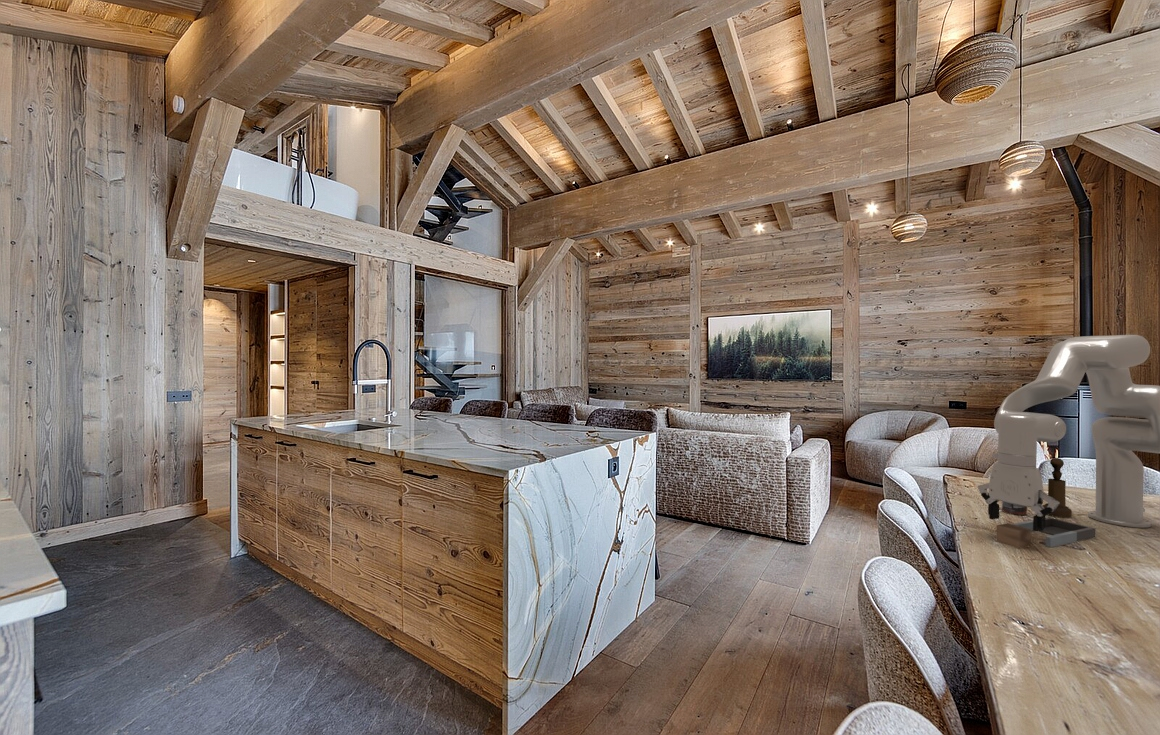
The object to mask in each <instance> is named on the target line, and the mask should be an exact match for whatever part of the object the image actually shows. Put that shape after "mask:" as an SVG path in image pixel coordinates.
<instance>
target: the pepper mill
mask: <svg viewBox="0 0 1160 735" xmlns="http://www.w3.org/2000/svg"><path fill="white" fill-rule="evenodd" d="M1050 459H1051V460H1049V464H1050V465H1051V467H1052V468H1053V471H1051V475H1052V478H1047V480H1048V481H1047V488H1048V489H1047V492H1048V493H1047V495H1049V496H1050V497H1052V498H1054V499H1055V500H1057V501H1058V502H1059V503H1060V504H1059V506H1058V507H1057V508H1056V509H1055V511H1054V512H1052V513H1050V514H1048V515H1047V516H1049V517H1054V518H1055V517H1056V518H1063V519H1069V518H1072V516H1073V513H1072V512H1073V511H1072V509H1071V508H1069V506H1067V504H1066V483H1067V482H1066V480H1064V479H1061V478H1062V476H1063V472H1061V471H1062V470H1061V469H1062V468H1063V467H1064V463H1065V462H1064V460H1063V459H1062V458H1058V457H1052V458H1050ZM1048 505H1049V504H1048V502H1046V503H1044V504H1042V506H1043V507H1044V508H1046V507H1047V506H1048Z"/></svg>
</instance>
